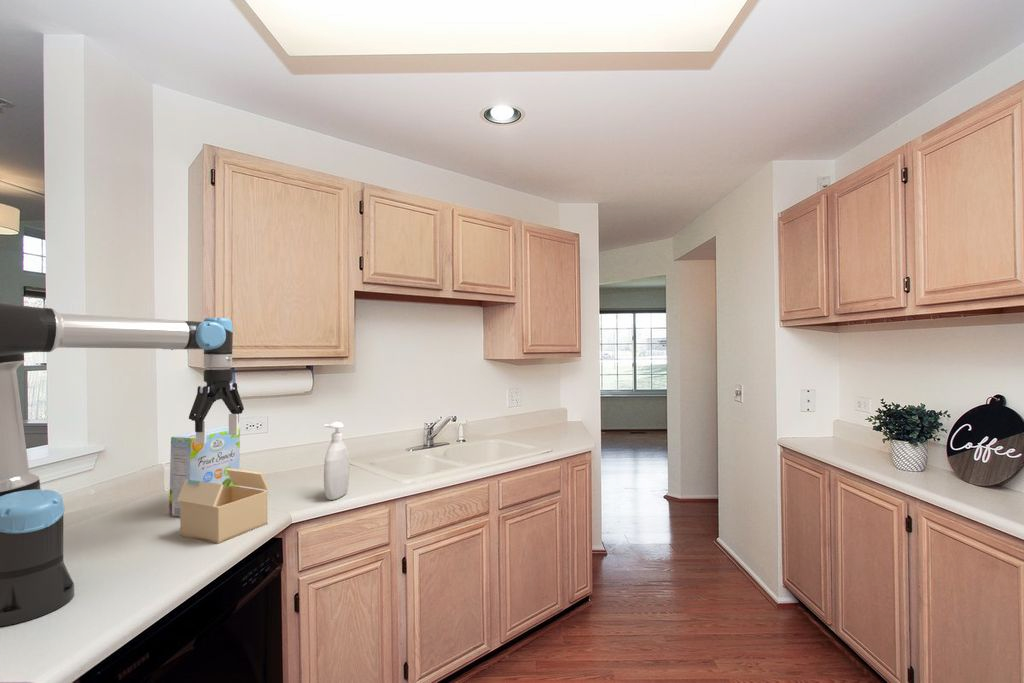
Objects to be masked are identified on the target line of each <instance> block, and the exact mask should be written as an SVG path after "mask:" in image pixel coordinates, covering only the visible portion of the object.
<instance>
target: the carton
mask: <svg viewBox="0 0 1024 683" xmlns="http://www.w3.org/2000/svg"><path fill="white" fill-rule="evenodd" d="M179 521H180V522H179V523H180V525H179V526H180V528H179V529H180V530H179V531H180V536H181V537H186V538H190V539H195V540H198V541H199V540H200V541H204V542H208V543H209V542H210V543H213V544H218V545H219V544H221V543H224V542H226V541H229V540H231V539H234V538H236V537H239V536H241V535H243V533H244V534H246V533H248V531H249V532H251V531H254V530H256V529H258V527H259V528H261V527H263V525H264V526H265V525H268V490H263V489H256V488H250V487H243V486H239V487H235V486H229V487H225V488H223V489H222V491H221V494H220V497H219V499H218V502H217V504H216V507H212V506H206V505H201V504H195V503H190V502H184V501H180V519H179ZM260 526H261V527H260ZM255 528H256V529H255ZM253 529H254V530H253ZM250 530H251V531H250Z"/></svg>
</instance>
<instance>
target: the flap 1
mask: <svg viewBox="0 0 1024 683" xmlns="http://www.w3.org/2000/svg"><path fill="white" fill-rule="evenodd" d="M223 486H224V485H222V484H215V483H209V482H202V481H196V480H189V479H186V480H185V482H184V485H183V487H182V490H181V492H180V495H179V497H178V499H177V500H178V501H184V502H190V503H195V504H201V505H206V506H212V507H216V504H217V502H218V499H219V497H220V494H221V491H222V489H223Z"/></svg>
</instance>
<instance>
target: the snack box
mask: <svg viewBox="0 0 1024 683" xmlns="http://www.w3.org/2000/svg"><path fill="white" fill-rule="evenodd" d="M240 448H241V428H240V427H238V435H229V426H219V427H214V428H208V429H206V443H196V432H195V431H194V432H193V431H192V432H190V433H189V432H188V433H185V434H179V435H174V436H171V437H170V460H169V461H170V463H169V464H170V465H169V466H170V468H169V470H170V471H169V496H168V497H169V502H168V505H169V506H168V507H169V508H168V509H169V510H168V515H169V516H170V517H180V501H178V500H177V499H178V497H179V495H180V492H181V490H182V487H183V485H184V482H185V480H186V479H189V480H196V481H202V482H209V483H215V484H222V485H224V486H223V488H225V487H229V486H235V487H240V486H238V485H233V483H232V481H231V479H230V477H229V475H228V473H227V471H226V469H228V468H231V469H239V470H240V457H241V456H240V455H241V454H240V451H241V450H240Z"/></svg>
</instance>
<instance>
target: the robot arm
mask: <svg viewBox="0 0 1024 683" xmlns="http://www.w3.org/2000/svg"><path fill="white" fill-rule="evenodd" d="M233 334H234V331H233V321H232V320H231V319H230V318H228V317H205V318H204V319H203V321H194V320H193V321H192V320H178V319H159V318H147V317H146V318H144V317H143V318H141V317H125V316H123V317H122V316H107V315H93V314H91V315H90V314H89V315H88V314H73V313H59V312H58V311H56V309H54V308H51V307H38V306H28V305H20V304H15V303H9V302H2V301H0V627H5V626H10V625H14V624H15V625H16V624H19V623H24V622H27V621H29V620H33V619H36V618H39V617H42V616H45V615H47V614H49V613H52V612H54V611H56V610H58V609H60V608H62V607H63V606H65V605H67V604H68V603H69V602H71V600H73V598H74V597H75V583H74V581H73V579H72V577H71V575H70V572H69V571H68V568H67V566H66V563H65V562H64V512H65V505H64V501H63V496H62V495H61V494H60V493H59V492H58V491H55V490H53V489H44V490H43V489H42V488H41V483H40V482H41V481H40V476H39V475H36V474H35V473H32V472H31V471H30V468H29V462H28V461H29V460H28V452H27V445H26V437H25V430H24V429H25V428H24V422H23V421H24V420H23V414H22V406H21V399H20V398H21V397H20V396H21V395H20V390H19V383H18V381H19V379H18V375H17V374H18V372H17V370H18V368H19V367H20V366H22V364H23V363H24V362H25V354H29V353H51V352H54V351H55V350H56V349H58V348H63V349H64V348H65V349H66V348H67V349H71V348H73V349H75V348H76V349H79V348H80V349H81V348H82V349H142V350H143V349H146V350H147V349H150V350H151V349H154V350H156V349H158V350H159V349H160V350H171V351H172V350H173V351H174V350H203V366H202V367H203V368H204V370H203V382H205V383H206V384H205V385H199V386H197V390H196V391H197V392H196V396H195V398H194V401H193V404H192V407H191V410H190V412H189V415H188V420H190V421H194V432H196V443H206V430H207V420H206V416H207V415H208V413H209V411H210V409H211V408H212V406H213V405H214V403H216V401H219V400H222V402H223V403H224V405H225V406H226V408H227V409H228V411H229V412H230V413H229V414H228V427H229V435H238V428H239V422H240V419H239V418H240V416H239V415H240V414H242V413H243V411H245V410H244V409H245V408H244V405H243V401H242V399H241V395H240V393H239V390H238V384H237V383H236V382H232V381H233V369H231V368H232V367H233V336H234V335H233Z"/></svg>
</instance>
